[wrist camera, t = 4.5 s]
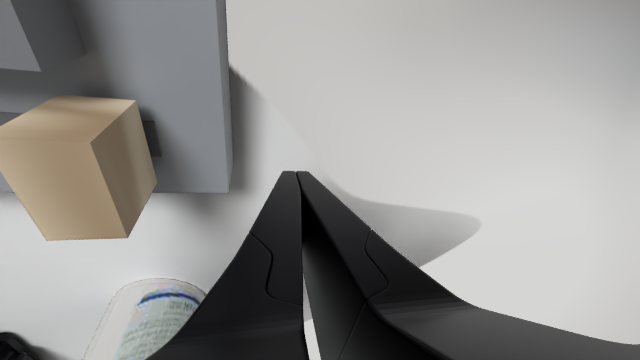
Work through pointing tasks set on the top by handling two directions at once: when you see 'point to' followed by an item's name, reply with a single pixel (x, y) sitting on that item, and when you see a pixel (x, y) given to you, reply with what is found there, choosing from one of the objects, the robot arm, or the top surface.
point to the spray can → (143, 319)
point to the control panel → (130, 75)
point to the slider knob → (79, 166)
